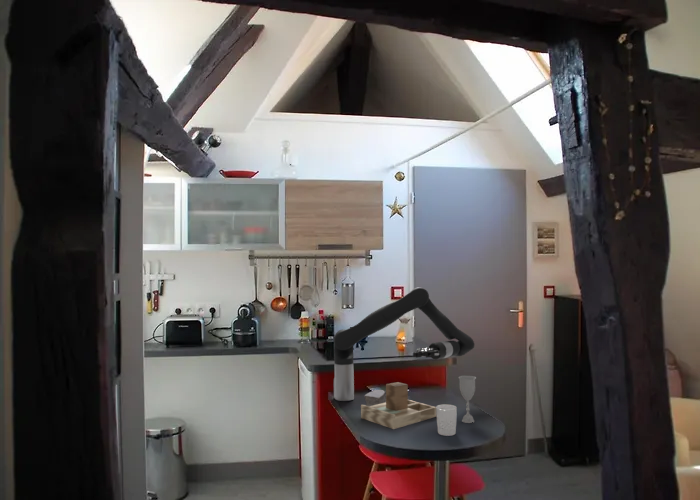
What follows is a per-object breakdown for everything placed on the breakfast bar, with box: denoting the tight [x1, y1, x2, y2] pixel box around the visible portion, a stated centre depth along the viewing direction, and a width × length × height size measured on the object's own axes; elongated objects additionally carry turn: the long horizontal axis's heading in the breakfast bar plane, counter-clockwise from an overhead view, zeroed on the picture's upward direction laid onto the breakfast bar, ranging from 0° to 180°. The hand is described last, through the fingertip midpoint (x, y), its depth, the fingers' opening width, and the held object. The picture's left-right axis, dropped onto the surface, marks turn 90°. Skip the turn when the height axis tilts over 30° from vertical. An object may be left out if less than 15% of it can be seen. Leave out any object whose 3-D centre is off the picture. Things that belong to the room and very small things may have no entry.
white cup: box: [435, 403, 458, 437], centre depth 204 cm, size 8×8×10 cm
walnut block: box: [385, 381, 409, 411], centre depth 225 cm, size 6×7×10 cm
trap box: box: [360, 399, 437, 430], centre depth 225 cm, size 20×25×6 cm
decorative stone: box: [364, 389, 386, 406], centre depth 241 cm, size 15×7×10 cm
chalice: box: [458, 375, 477, 424], centre depth 219 cm, size 7×7×18 cm
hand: (414, 355), depth 232 cm, fingers closed
